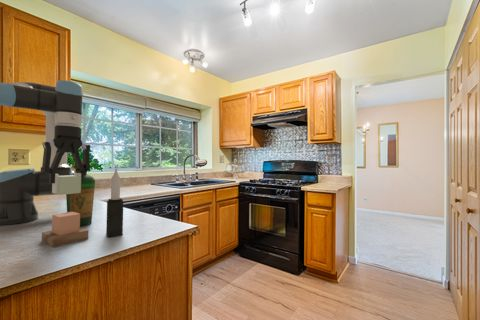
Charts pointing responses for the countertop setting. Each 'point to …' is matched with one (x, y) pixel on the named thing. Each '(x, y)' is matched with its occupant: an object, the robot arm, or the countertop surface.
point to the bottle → (82, 199)
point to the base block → (64, 237)
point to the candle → (115, 209)
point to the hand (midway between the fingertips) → (66, 191)
